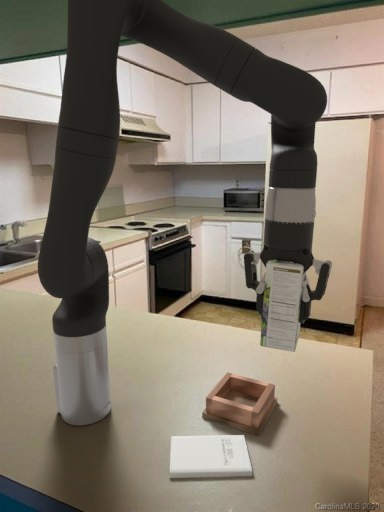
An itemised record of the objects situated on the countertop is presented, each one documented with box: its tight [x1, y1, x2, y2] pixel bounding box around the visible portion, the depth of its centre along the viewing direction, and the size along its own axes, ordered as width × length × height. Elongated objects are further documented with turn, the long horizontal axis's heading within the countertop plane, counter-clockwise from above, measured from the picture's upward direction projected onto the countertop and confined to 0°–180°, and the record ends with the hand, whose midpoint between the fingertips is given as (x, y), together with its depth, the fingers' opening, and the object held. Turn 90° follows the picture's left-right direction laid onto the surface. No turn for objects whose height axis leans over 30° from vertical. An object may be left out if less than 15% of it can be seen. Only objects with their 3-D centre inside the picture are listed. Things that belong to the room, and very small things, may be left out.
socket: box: [201, 371, 278, 437], centre depth 73 cm, size 11×11×4 cm
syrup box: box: [259, 260, 307, 353], centre depth 63 cm, size 6×6×14 cm
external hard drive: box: [169, 434, 253, 479], centre depth 62 cm, size 2×8×12 cm
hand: (282, 317), depth 64 cm, fingers closed on syrup box, 6 cm apart
